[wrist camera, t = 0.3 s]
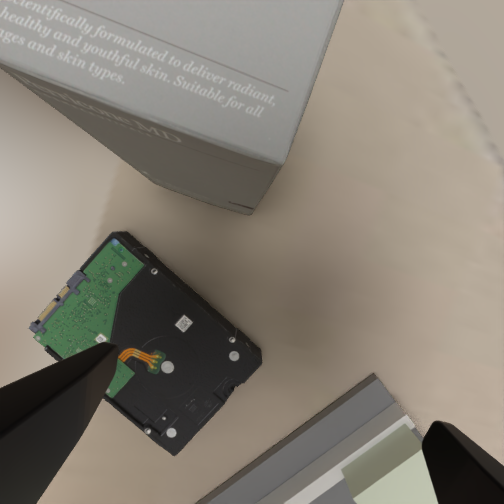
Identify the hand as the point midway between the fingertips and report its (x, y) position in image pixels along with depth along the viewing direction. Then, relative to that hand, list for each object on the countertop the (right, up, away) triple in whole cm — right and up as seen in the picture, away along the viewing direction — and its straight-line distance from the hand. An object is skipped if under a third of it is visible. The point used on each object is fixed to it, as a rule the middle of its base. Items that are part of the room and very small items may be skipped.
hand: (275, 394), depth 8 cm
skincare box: (-3, +11, +15) cm, 19 cm away
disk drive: (-9, -3, +16) cm, 19 cm away
